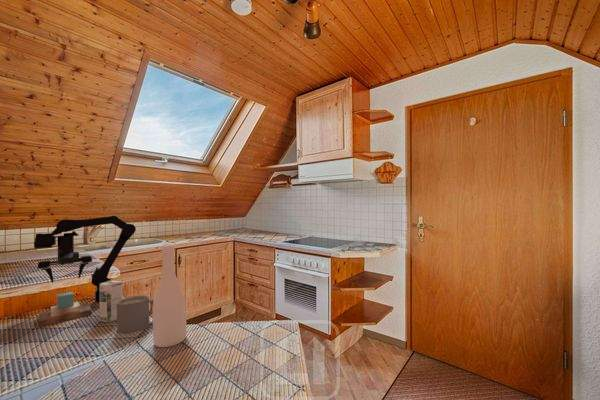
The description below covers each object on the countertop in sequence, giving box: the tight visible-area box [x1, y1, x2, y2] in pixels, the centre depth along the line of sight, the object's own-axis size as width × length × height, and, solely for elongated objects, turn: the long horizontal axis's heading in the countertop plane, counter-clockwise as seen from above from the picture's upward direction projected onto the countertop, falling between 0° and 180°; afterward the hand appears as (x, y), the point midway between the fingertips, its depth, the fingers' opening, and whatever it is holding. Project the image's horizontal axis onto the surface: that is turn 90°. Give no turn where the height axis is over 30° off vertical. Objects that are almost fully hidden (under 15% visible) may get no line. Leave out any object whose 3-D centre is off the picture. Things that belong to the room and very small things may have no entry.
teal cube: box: [56, 291, 75, 309], centre depth 113 cm, size 5×5×5 cm
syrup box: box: [99, 280, 124, 323], centre depth 107 cm, size 6×6×14 cm
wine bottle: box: [152, 244, 188, 348], centre depth 86 cm, size 10×10×30 cm
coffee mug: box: [116, 294, 155, 335], centre depth 99 cm, size 13×10×10 cm
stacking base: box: [37, 301, 93, 328], centre depth 113 cm, size 16×13×4 cm
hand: (66, 280), depth 125 cm, fingers open, 9 cm apart
